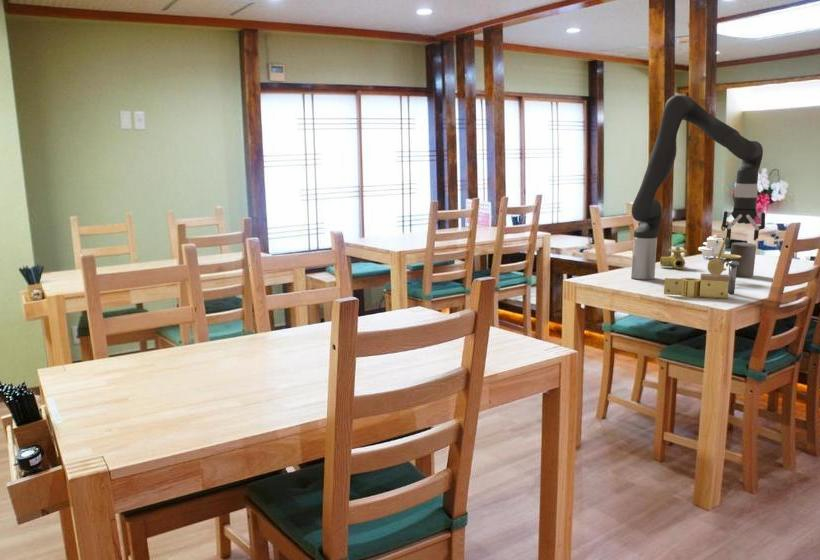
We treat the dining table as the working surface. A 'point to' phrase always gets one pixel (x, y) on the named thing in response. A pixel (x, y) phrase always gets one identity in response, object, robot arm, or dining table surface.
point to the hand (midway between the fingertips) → (741, 239)
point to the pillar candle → (744, 258)
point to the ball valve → (674, 259)
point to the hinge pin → (732, 276)
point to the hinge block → (699, 286)
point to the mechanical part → (712, 247)
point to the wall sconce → (716, 264)
